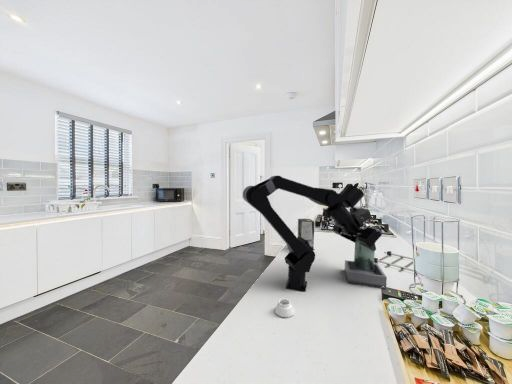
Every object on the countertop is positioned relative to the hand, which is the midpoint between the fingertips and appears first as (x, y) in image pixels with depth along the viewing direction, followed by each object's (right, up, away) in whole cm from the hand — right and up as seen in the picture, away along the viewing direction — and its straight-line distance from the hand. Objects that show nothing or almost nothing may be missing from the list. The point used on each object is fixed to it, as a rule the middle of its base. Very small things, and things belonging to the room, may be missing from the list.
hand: (367, 247), depth 76 cm
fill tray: (-1, -12, 0) cm, 12 cm away
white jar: (-33, -12, -20) cm, 41 cm away
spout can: (-2, -7, 0) cm, 7 cm away
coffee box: (-16, -10, +29) cm, 34 cm away
